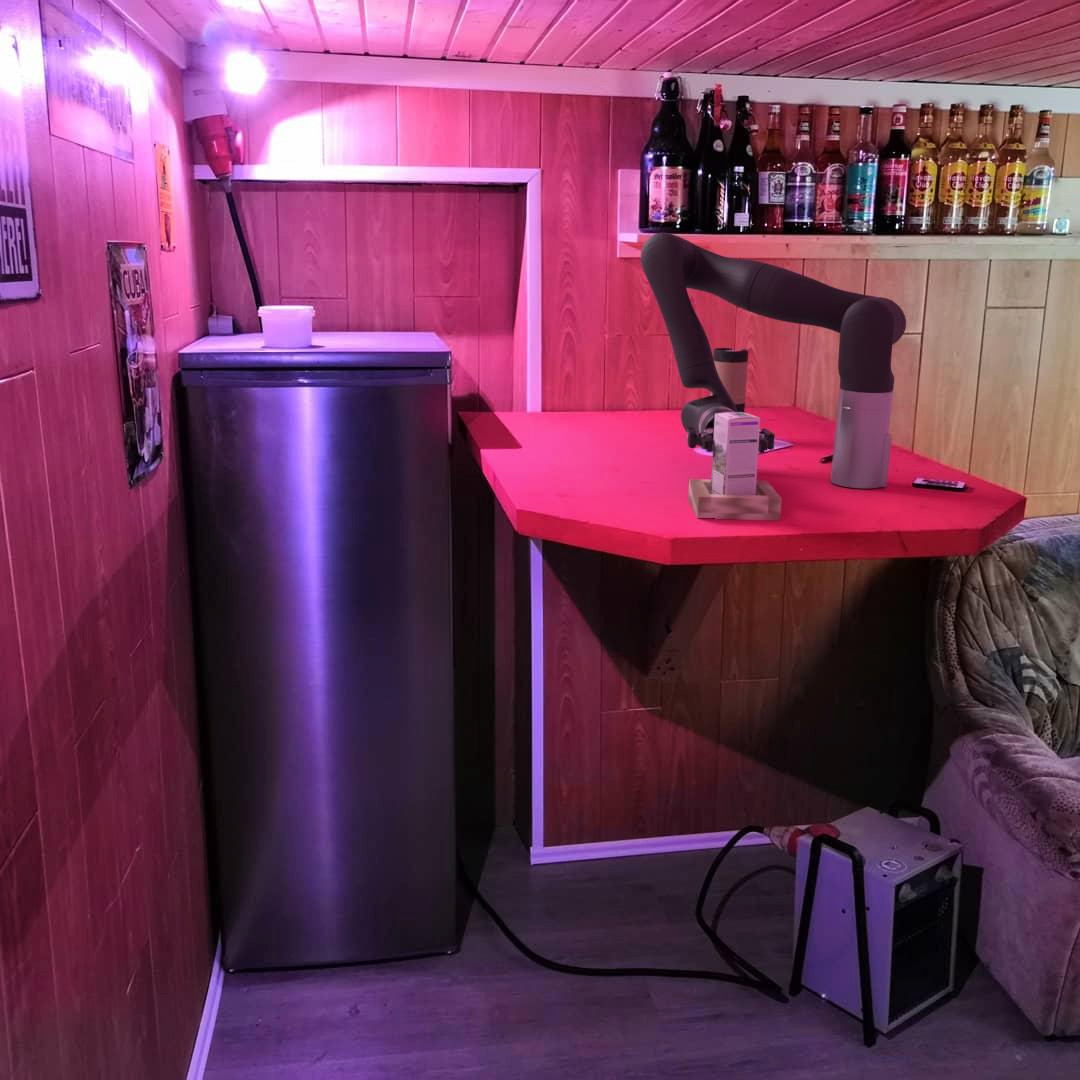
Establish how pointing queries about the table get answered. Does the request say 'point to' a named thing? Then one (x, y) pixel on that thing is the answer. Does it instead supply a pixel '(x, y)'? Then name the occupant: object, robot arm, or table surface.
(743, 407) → the travel mug
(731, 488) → the syrup box
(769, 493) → the holder
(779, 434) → the table surface
